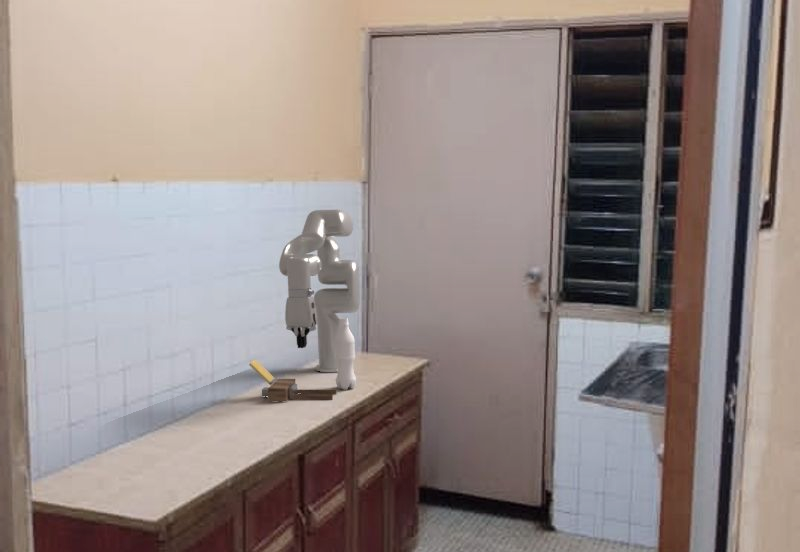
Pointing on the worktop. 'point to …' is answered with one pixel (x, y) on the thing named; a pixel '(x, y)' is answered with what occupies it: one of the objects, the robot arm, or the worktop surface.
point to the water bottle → (345, 355)
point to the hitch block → (281, 391)
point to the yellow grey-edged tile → (263, 372)
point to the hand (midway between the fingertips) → (301, 347)
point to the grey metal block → (291, 390)
